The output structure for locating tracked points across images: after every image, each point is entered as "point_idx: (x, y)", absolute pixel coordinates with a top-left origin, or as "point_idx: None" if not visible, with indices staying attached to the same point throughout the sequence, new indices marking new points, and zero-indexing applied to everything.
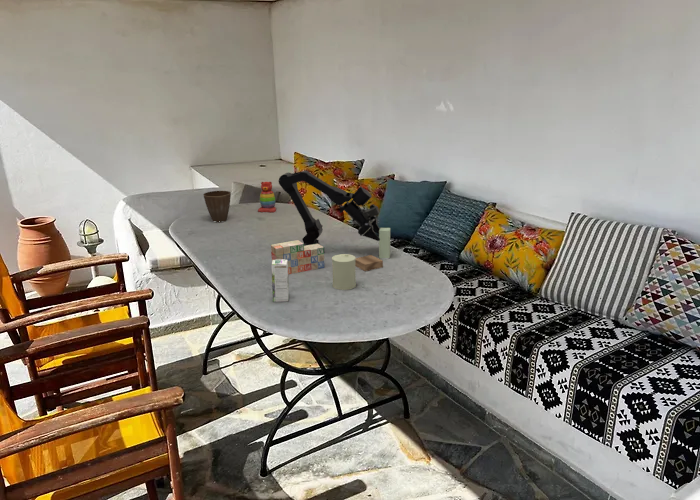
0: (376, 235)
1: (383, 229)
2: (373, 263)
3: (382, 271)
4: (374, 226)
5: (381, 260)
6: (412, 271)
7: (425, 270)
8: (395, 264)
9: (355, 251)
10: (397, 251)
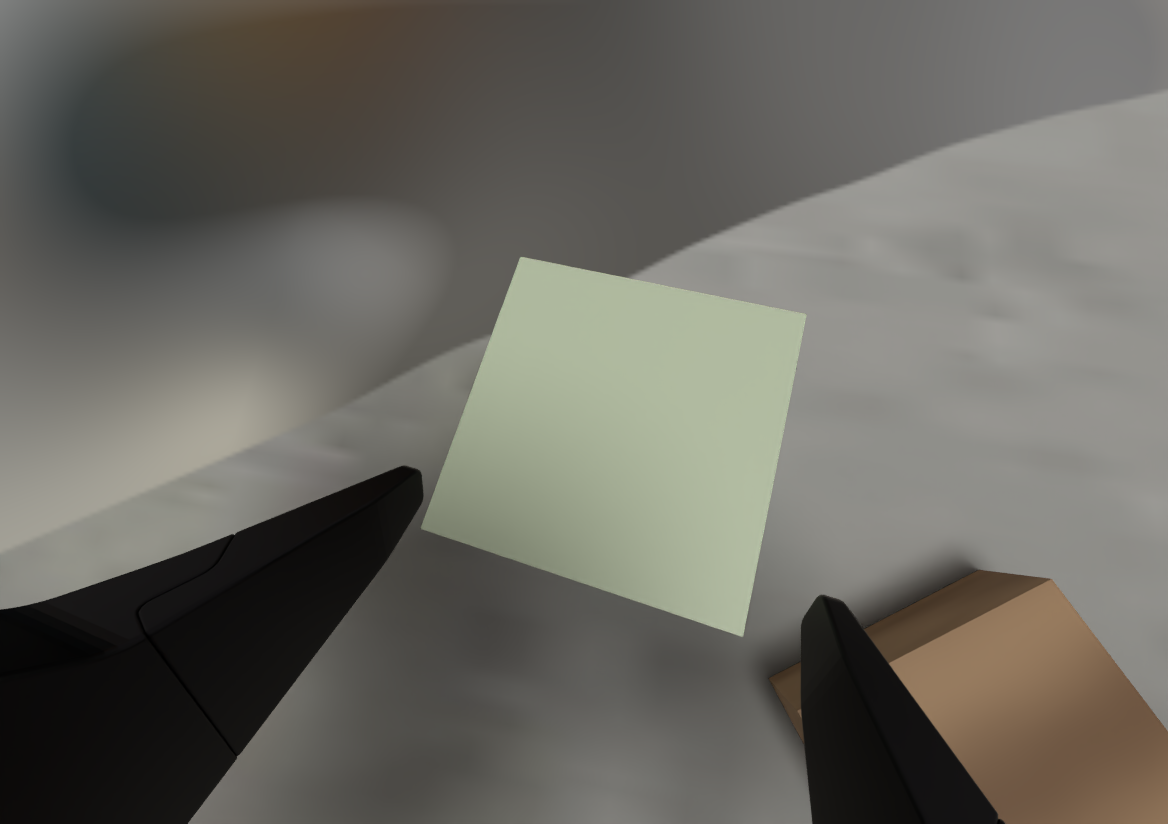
0: (947, 748)
1: (639, 464)
2: (1160, 736)
3: (1134, 599)
4: (194, 684)
5: (1049, 597)
6: (1087, 291)
7: (1042, 183)
8: (875, 418)
9: (383, 811)
10: (484, 343)
